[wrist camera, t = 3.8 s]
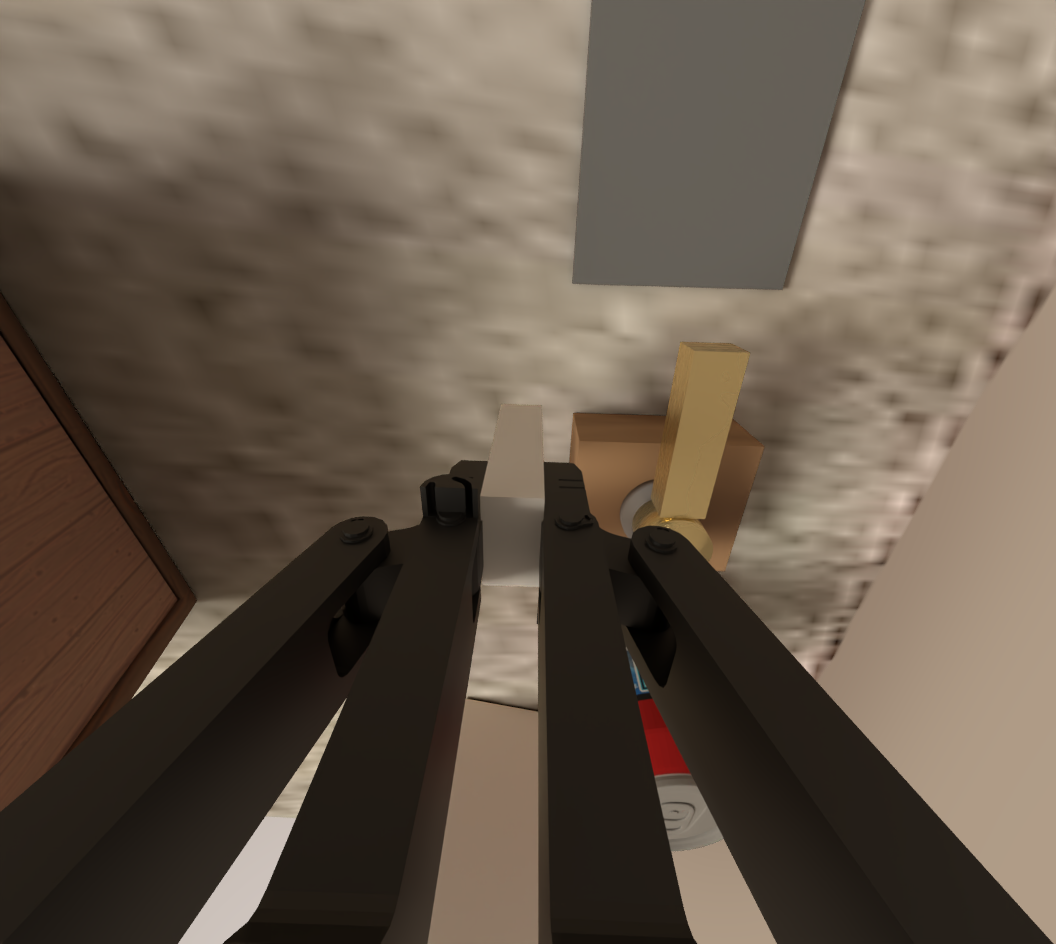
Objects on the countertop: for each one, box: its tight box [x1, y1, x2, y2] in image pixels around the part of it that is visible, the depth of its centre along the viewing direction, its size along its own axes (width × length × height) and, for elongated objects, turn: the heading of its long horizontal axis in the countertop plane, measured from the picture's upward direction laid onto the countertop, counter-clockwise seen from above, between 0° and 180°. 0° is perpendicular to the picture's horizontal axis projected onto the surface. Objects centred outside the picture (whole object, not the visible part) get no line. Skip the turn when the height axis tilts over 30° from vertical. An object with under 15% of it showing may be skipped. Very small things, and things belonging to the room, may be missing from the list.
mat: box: [572, 0, 865, 290], centre depth 16 cm, size 9×9×1 cm
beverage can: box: [626, 647, 724, 851], centre depth 22 cm, size 7×7×12 cm
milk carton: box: [428, 699, 538, 944], centre depth 26 cm, size 7×7×19 cm
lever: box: [632, 342, 750, 562], centre depth 16 cm, size 9×3×2 cm, turn 179°
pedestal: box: [569, 413, 765, 571], centre depth 21 cm, size 7×8×4 cm
